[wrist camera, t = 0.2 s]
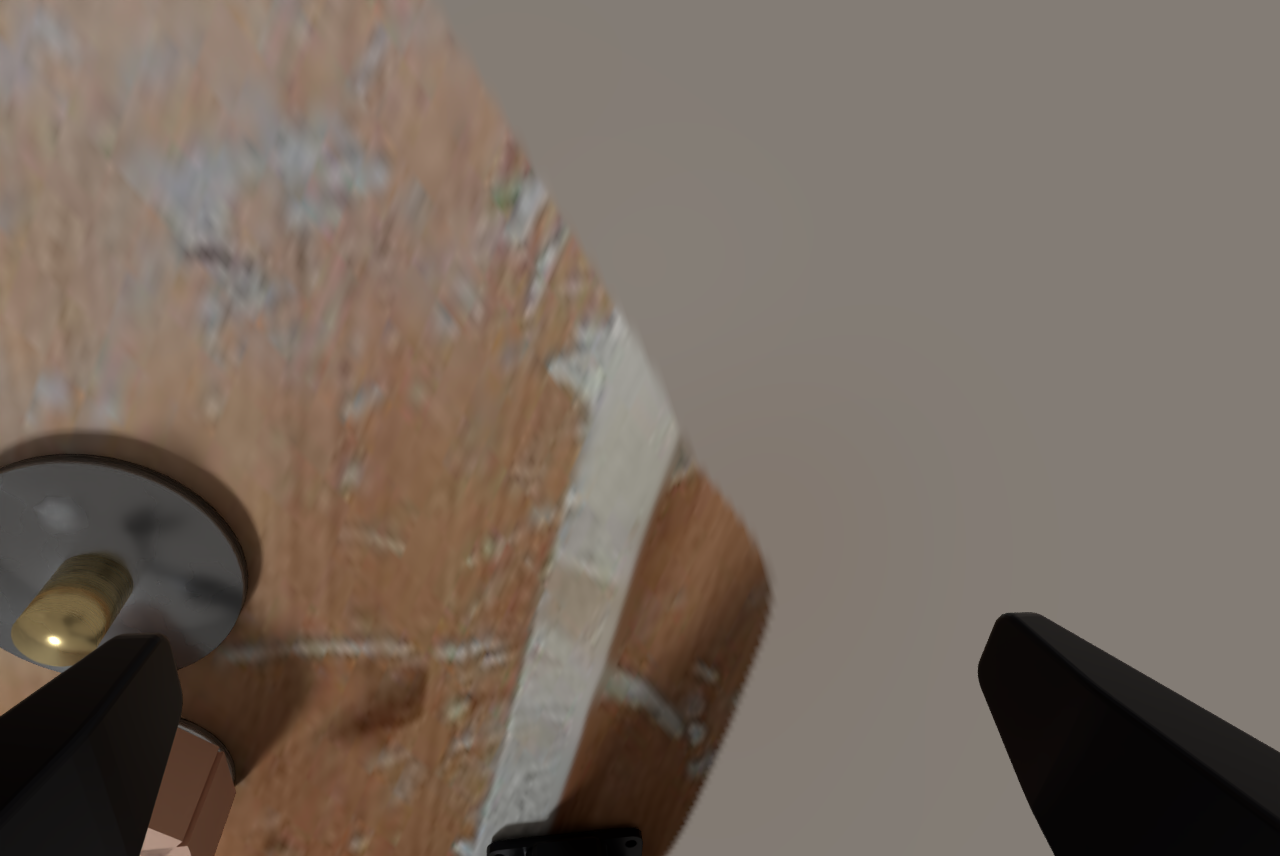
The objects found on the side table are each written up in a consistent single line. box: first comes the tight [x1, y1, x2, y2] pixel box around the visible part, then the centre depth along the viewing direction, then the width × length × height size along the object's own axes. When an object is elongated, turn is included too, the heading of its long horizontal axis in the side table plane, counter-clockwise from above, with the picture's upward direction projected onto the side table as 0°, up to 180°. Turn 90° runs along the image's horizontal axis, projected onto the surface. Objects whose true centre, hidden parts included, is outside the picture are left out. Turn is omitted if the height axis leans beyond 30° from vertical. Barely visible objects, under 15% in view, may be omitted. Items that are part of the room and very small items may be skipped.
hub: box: [0, 454, 248, 673], centre depth 22 cm, size 8×8×3 cm
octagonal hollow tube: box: [140, 728, 236, 856], centre depth 26 cm, size 6×6×4 cm
